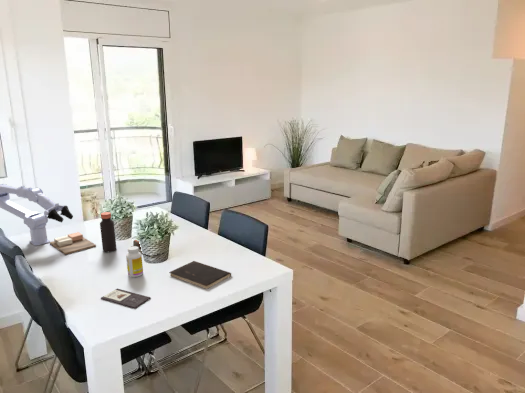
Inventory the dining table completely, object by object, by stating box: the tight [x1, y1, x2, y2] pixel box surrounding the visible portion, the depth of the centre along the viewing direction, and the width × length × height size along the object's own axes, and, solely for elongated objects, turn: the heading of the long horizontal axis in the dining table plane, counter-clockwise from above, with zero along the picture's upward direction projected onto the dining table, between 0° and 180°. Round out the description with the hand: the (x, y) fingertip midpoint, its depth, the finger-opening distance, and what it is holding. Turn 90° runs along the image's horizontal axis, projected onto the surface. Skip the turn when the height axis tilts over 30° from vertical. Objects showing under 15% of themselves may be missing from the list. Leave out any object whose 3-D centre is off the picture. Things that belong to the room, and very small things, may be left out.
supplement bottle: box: [125, 245, 144, 278], centre depth 193 cm, size 7×7×13 cm
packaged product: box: [130, 239, 142, 254], centre depth 224 cm, size 18×5×10 cm
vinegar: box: [99, 211, 117, 253], centre depth 222 cm, size 7×7×20 cm
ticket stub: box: [67, 231, 84, 241], centre depth 237 cm, size 6×6×2 cm
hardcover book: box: [169, 260, 232, 290], centre depth 193 cm, size 16×23×2 cm
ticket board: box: [49, 235, 97, 255], centre depth 231 cm, size 22×16×4 cm
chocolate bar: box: [100, 288, 152, 310], centre depth 173 cm, size 9×1×18 cm
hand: (67, 219), depth 227 cm, fingers open, 7 cm apart
